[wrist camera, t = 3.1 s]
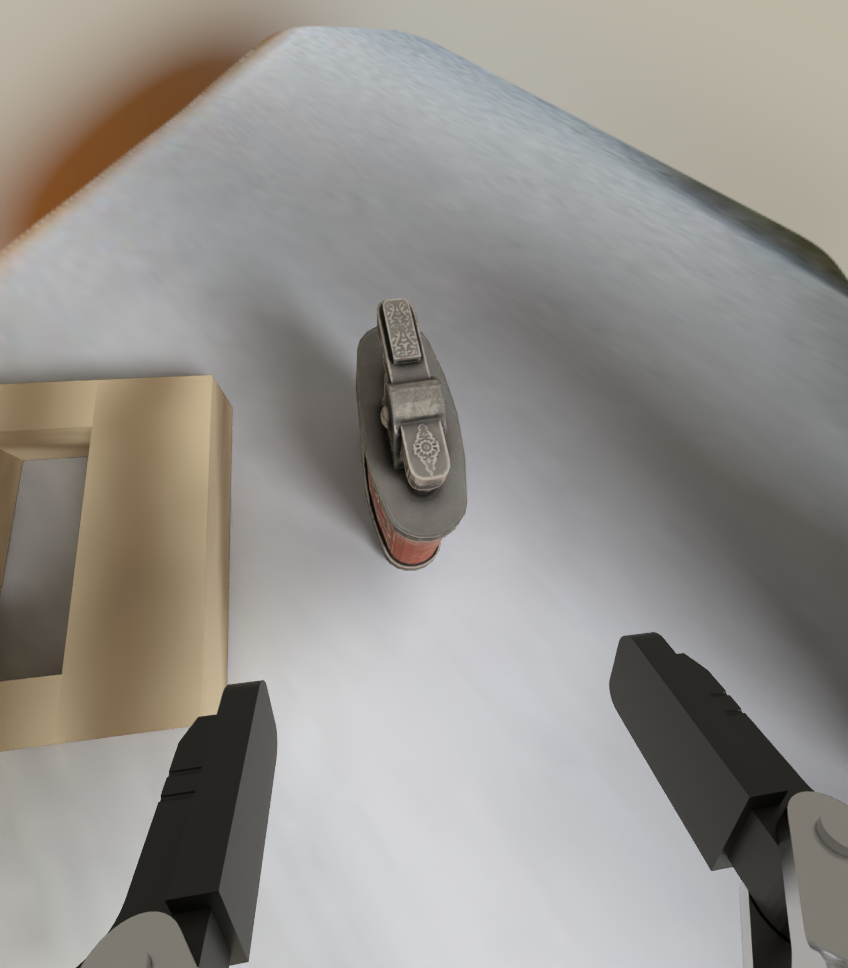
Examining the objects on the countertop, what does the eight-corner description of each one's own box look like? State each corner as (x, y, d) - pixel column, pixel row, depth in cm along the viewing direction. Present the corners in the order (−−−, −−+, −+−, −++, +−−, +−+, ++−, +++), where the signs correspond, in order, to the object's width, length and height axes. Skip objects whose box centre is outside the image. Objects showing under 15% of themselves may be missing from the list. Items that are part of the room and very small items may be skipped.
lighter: (451, 563, 22) (506, 505, 12) (380, 577, 21) (381, 528, 12) (417, 411, 24) (442, 266, 15) (353, 420, 24) (336, 276, 14)
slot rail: (232, 407, 23) (211, 374, 20) (226, 712, 19) (199, 724, 16) (-81, 423, 22) (-150, 390, 19) (-165, 763, 17) (-272, 787, 14)
